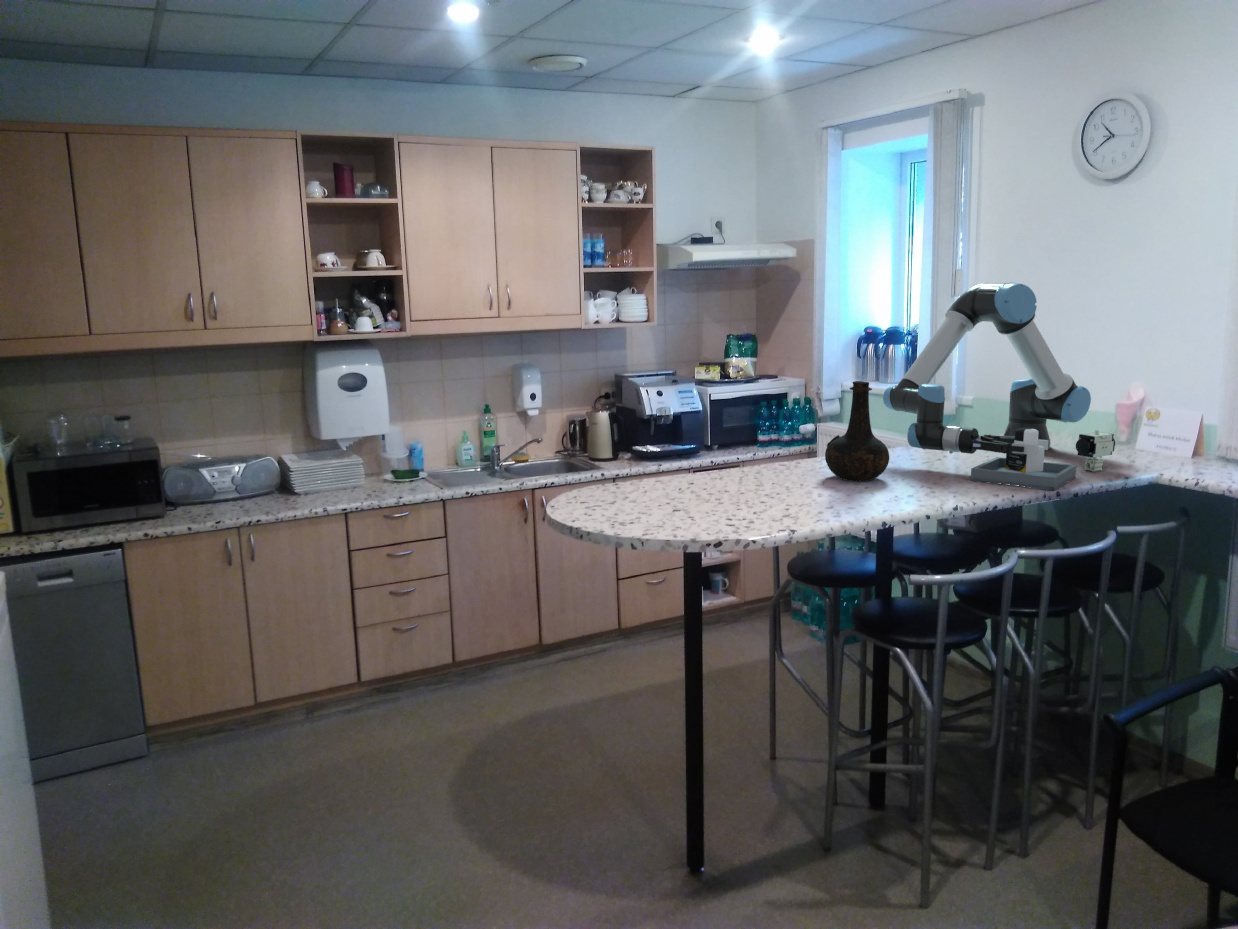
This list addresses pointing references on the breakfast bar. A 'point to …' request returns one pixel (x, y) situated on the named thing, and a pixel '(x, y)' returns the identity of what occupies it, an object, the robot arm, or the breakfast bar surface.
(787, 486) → the breakfast bar surface
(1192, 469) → the breakfast bar surface
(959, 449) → the robot arm
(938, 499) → the breakfast bar surface
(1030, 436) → the medicine bottle
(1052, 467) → the tray
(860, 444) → the glass bottle
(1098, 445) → the pneumatic valve
